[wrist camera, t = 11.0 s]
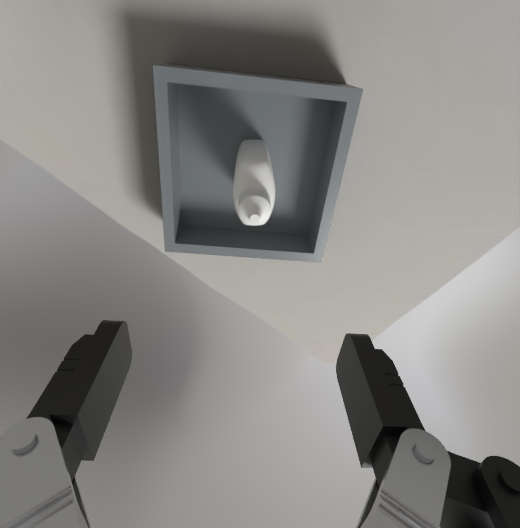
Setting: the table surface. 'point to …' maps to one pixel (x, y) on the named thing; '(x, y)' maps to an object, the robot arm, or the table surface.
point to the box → (225, 154)
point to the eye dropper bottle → (253, 183)
